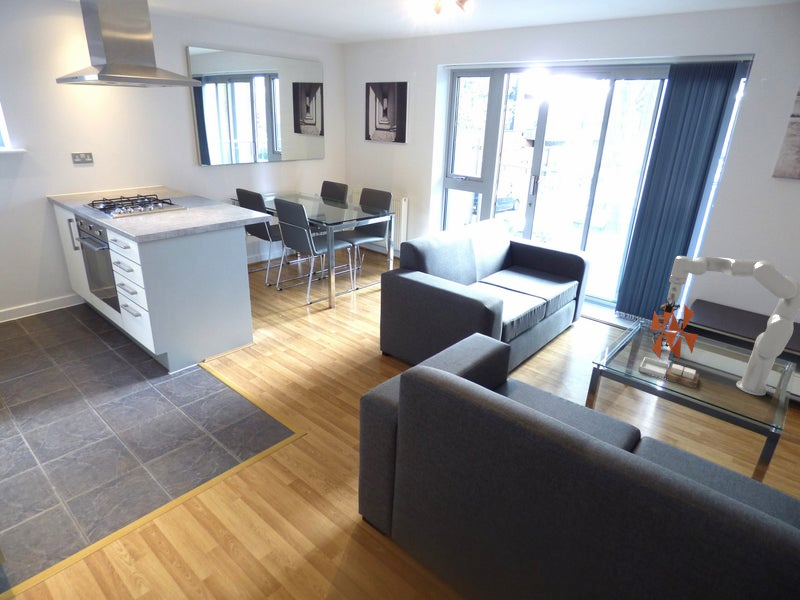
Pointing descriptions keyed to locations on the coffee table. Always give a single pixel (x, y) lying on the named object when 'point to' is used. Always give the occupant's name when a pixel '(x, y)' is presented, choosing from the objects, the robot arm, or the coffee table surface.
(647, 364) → the tray
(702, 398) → the coffee table surface
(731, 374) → the coffee table surface
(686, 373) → the cream rectangular block
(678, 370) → the tile far
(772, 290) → the robot arm
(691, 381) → the brown wooden box
